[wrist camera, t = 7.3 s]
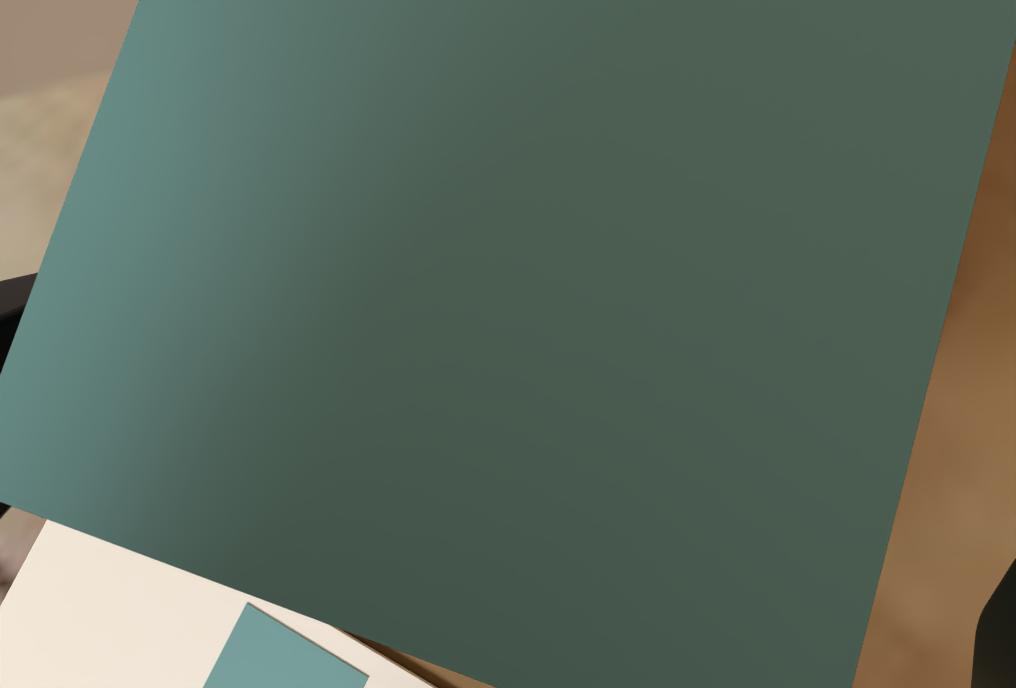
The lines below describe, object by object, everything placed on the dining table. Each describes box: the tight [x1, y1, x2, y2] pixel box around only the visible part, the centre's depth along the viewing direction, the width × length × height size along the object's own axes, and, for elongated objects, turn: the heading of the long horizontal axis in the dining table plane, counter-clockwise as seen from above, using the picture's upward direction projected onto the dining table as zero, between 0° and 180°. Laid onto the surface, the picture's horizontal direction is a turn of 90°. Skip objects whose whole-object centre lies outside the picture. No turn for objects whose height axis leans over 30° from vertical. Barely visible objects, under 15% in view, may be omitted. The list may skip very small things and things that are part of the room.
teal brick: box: [0, 0, 1016, 688], centre depth 11 cm, size 5×5×12 cm
